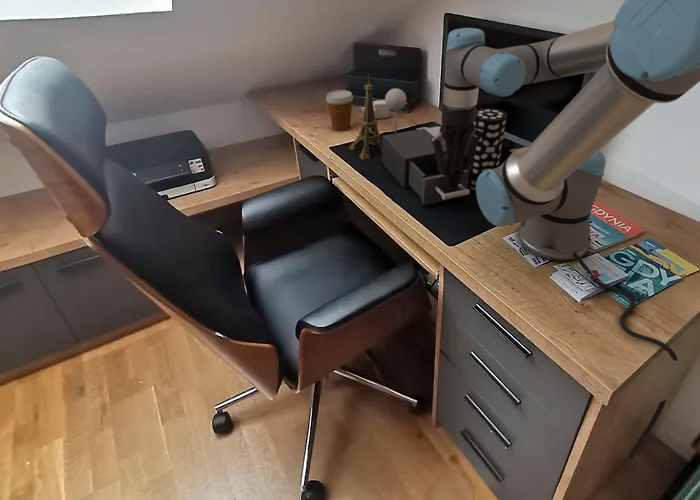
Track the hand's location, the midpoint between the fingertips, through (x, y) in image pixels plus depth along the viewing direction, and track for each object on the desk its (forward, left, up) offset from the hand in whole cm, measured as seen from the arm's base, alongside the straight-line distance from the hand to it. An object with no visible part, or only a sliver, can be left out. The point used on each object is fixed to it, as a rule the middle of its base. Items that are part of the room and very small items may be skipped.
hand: (451, 196), depth 118 cm
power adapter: (+67, -4, -4) cm, 68 cm away
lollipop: (+51, -6, -4) cm, 52 cm away
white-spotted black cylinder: (+8, -14, -4) cm, 17 cm away
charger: (+38, -13, -4) cm, 41 cm away
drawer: (+8, 0, -3) cm, 8 cm away
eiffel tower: (+41, +7, -4) cm, 42 cm away
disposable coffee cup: (+63, +10, -4) cm, 64 cm away
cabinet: (+22, 0, -4) cm, 23 cm away
